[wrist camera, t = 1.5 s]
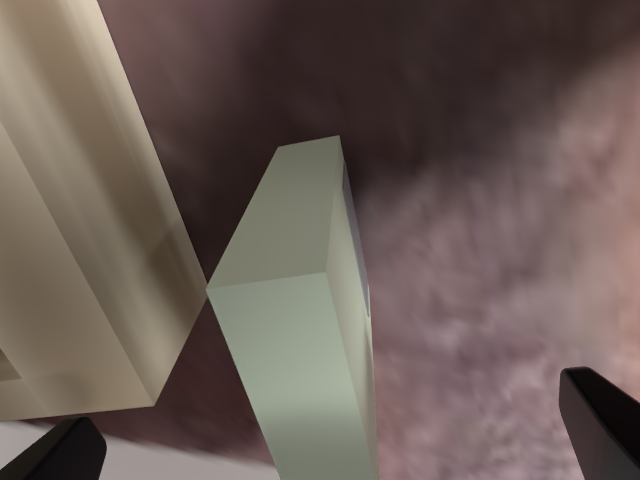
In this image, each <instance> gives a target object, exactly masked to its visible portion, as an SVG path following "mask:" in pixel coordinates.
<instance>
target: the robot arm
mask: <svg viewBox="0 0 640 480" xmlns="http://www.w3.org/2000/svg"><path fill="white" fill-rule="evenodd" d="M559 408H560V412H561V416H562V419H563V421H564V424H565V427H566V430H567V432H568V435H569V438H570V440H571V443H572V446H573V449H574V451H575V454H576V457H577V459H578V462H579V465H580V467H581V470H582V473H583V476H584V478H585V480H640V402H638V401H637V400H635V399H634V398H632V397H631V396H630V395H628V394H627V393H625V392H624V391H623V390H621V389H620V388H618V387H617V386H615V385H614V384H613V383H611V382H610V381H608V380H607V379H606V378H604V377H603V376H601V375H600V374H598V373H597V372H596V371H594V370H593V369H591V368H589V367H573V368H565V369H563V370H562V371H561V374H560V388H559ZM106 450H107V445H106V441H105V439H104V438H103V436H102V435H101V433H100V431H99V430H98V428H97V427H96V425H95V424H94V422H93V421H92V419H91V418H90V417H88V416H74V417H68V418H66V419H64V420H63V421H61V422H60V423H59V424H58V425H56V426H55V427H54V428H52V429H51V430H50V431H49V432H47V433H46V434H45V435H44V436H42V437H41V438H40V439H39V440H37V441H36V442H35V443H34V444H32V445H31V446H30V447H29V448H27V449H26V450H25V451H23V452H22V453H21V454H20V455H18V456H17V457H16V458H15V459H13V460H12V461H11V462H10V463H8V464H7V465H6V466H5V467H3V468H2V469H1V470H0V480H99V476H100V473H101V469H102V466H103V463H104V459H105V455H106Z"/></svg>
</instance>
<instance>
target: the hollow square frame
mask: <svg viewBox="0 0 640 480" xmlns="http://www.w3.org/2000/svg"><path fill="white" fill-rule="evenodd" d="M207 285H208V284H207V281H206V279H205V276H204V274H203V271H202V269H201V266H200V263H199V261H198V258H197V256H196V253H195V251H194V248H193V246H192V243H191V240H190V238H189V235H188V233H187V230H186V228H185V225H184V223H183V220H182V217H181V215H180V212H179V210H178V207H177V205H176V202H175V200H174V197H173V194H172V192H171V189H170V187H169V184H168V182H167V179H166V177H165V174H164V171H163V169H162V166H161V164H160V161H159V159H158V156H157V154H156V151H155V148H154V146H153V143H152V141H151V138H150V136H149V133H148V130H147V128H146V125H145V123H144V120H143V118H142V115H141V113H140V110H139V107H138V105H137V102H136V100H135V97H134V95H133V92H132V90H131V87H130V84H129V82H128V79H127V77H126V74H125V72H124V69H123V67H122V64H121V61H120V59H119V56H118V54H117V51H116V49H115V46H114V44H113V41H112V38H111V36H110V33H109V31H108V28H107V26H106V23H105V20H104V18H103V15H102V13H101V10H100V8H99V5H98V3H97V0H0V422H2V421H12V420H21V419H31V418H41V417H51V416H61V415H70V414H80V413H90V412H100V411H109V410H119V409H129V408H139V407H149V406H154V405H155V403H156V401H157V399H158V397H159V395H160V393H161V391H162V389H163V387H164V385H165V383H166V381H167V379H168V377H169V375H170V373H171V371H172V369H173V366H174V364H175V362H176V360H177V358H178V356H179V354H180V352H181V350H182V348H183V346H184V344H185V342H186V340H187V338H188V336H189V334H190V332H191V330H192V328H193V326H194V324H195V322H196V320H197V318H198V315H199V313H200V311H201V309H202V307H203V305H204V303H205V301H206V299H207V297H208V294H207V292H206V287H207Z"/></svg>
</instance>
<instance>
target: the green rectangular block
mask: <svg viewBox="0 0 640 480" xmlns="http://www.w3.org/2000/svg"><path fill="white" fill-rule="evenodd" d="M206 292H207V294H208V297H209V299H210V302H211V304H212V307H213V309H214V312H215V315H216V317H217V320H218V322H219V325H220V327H221V330H222V332H223V335H224V337H225V340H226V342H227V345H228V347H229V350H230V352H231V355H232V357H233V360H234V362H235V365H236V368H237V370H238V373H239V375H240V378H241V380H242V383H243V385H244V388H245V390H246V393H247V395H248V398H249V400H250V403H251V405H252V408H253V410H254V413H255V415H256V418H257V421H258V423H259V426H260V428H261V431H262V433H263V436H264V438H265V441H266V443H267V446H268V448H269V451H270V453H271V456H272V458H273V461H274V463H275V466H276V468H277V471H278V473H279V476H280V479H281V480H380V475H379V457H378V440H377V422H376V405H375V387H374V369H373V352H372V334H371V317H370V299H369V288H368V283H367V272H366V267H365V262H364V257H363V251H362V246H361V241H360V236H359V230H358V225H357V220H356V215H355V209H354V204H353V199H352V194H351V188H350V183H349V178H348V173H347V167H346V162H345V161H344V157H343V152H342V147H341V142H340V137H339V135H338V136H332V137H327V138H322V139H317V140H312V141H306V142H301V143H296V144H291V145H285V146H280V147H278V148H277V150H276V152H275V154H274V156H273V158H272V160H271V162H270V164H269V166H268V168H267V170H266V172H265V173H264V175H263V177H262V179H261V181H260V183H259V185H258V187H257V189H256V191H255V193H254V195H253V197H252V199H251V201H250V203H249V205H248V207H247V209H246V211H245V213H244V215H243V217H242V219H241V221H240V222H239V224H238V226H237V228H236V230H235V232H234V234H233V236H232V238H231V240H230V242H229V244H228V246H227V248H226V250H225V252H224V254H223V256H222V258H221V260H220V262H219V264H218V266H217V268H216V270H215V272H214V273H213V275H212V277H211V279H210V281H209V283H208V285H207V287H206Z"/></svg>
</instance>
